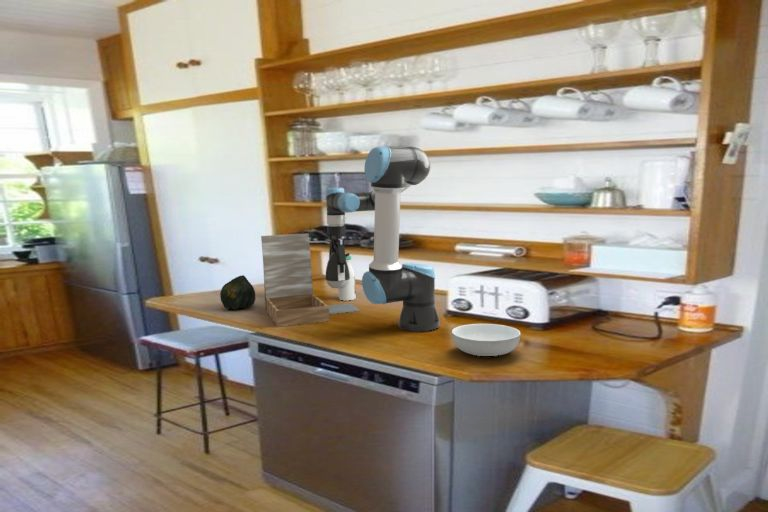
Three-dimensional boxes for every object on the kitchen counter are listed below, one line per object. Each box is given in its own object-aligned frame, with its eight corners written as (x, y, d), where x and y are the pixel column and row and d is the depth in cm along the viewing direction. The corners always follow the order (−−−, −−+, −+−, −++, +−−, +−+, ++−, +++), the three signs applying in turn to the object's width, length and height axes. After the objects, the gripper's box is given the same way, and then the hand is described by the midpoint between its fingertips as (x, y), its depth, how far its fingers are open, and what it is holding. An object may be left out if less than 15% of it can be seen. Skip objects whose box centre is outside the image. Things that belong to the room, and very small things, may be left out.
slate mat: (360, 311, 232) (360, 309, 232) (327, 314, 227) (327, 313, 227) (350, 304, 245) (350, 303, 245) (318, 307, 240) (318, 306, 240)
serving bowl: (532, 351, 174) (533, 329, 173) (497, 368, 158) (497, 345, 157) (475, 339, 187) (475, 319, 186) (438, 354, 172) (437, 332, 171)
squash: (207, 298, 238) (227, 272, 234) (227, 292, 252) (246, 268, 248) (230, 321, 236) (250, 296, 232) (249, 314, 250) (268, 290, 246)
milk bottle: (353, 301, 251) (352, 257, 248) (336, 301, 253) (335, 257, 250) (357, 297, 259) (356, 255, 256) (341, 297, 260) (340, 254, 258)
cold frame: (329, 321, 216) (326, 239, 212) (277, 327, 209) (273, 242, 205) (310, 305, 246) (307, 233, 241) (264, 309, 239) (260, 235, 234)
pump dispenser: (349, 289, 229) (348, 252, 227) (324, 289, 230) (322, 253, 228) (351, 284, 240) (350, 249, 237) (327, 285, 240) (326, 249, 238)
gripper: (353, 226, 222) (354, 282, 225) (337, 223, 243) (339, 273, 246) (334, 227, 219) (336, 283, 222) (320, 223, 240) (322, 274, 243)
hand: (337, 278), depth 234 cm, fingers closed on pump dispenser, 10 cm apart
